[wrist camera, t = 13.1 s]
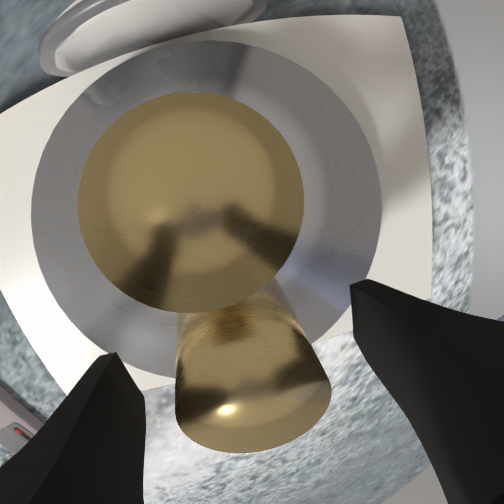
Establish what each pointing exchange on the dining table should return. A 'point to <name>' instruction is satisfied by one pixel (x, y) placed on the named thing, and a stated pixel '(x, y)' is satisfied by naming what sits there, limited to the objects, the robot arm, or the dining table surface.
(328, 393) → the cylinder
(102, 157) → the brass weight
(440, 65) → the dining table surface
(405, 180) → the scale
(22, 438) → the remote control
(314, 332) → the scale pan
